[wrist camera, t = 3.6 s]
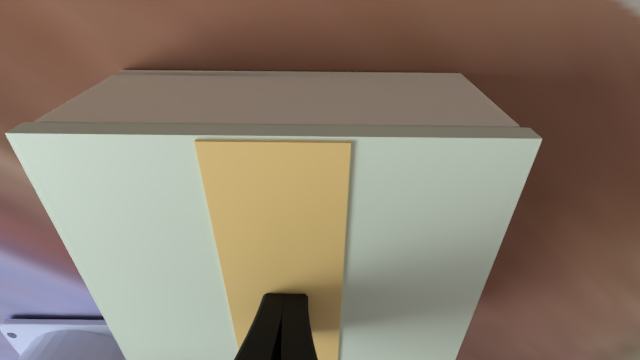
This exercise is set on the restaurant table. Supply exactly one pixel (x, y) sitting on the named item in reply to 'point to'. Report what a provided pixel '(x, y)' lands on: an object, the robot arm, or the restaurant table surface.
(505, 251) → the restaurant table surface
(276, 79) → the parcel box
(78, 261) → the box lid
